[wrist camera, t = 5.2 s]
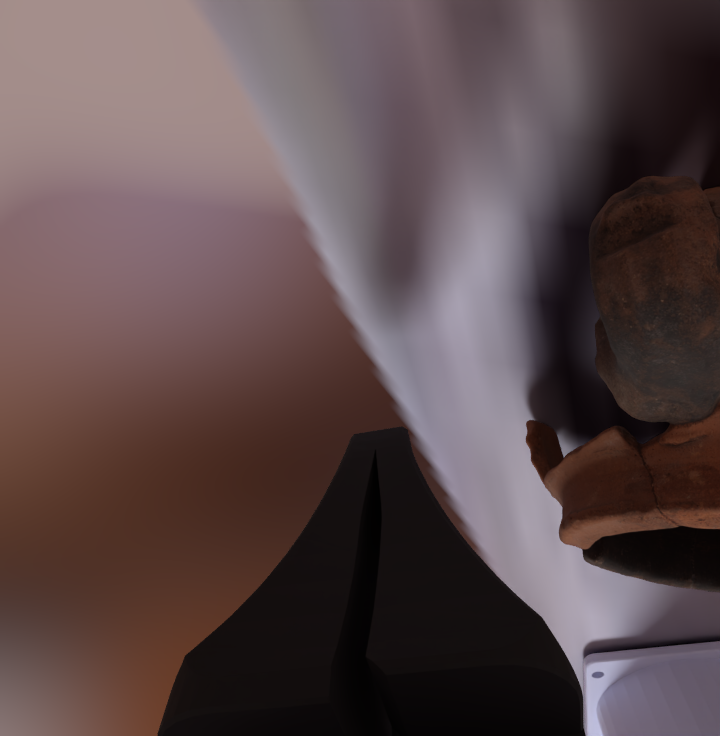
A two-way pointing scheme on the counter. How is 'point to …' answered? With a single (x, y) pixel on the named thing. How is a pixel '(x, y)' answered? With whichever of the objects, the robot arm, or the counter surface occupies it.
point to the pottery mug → (650, 391)
